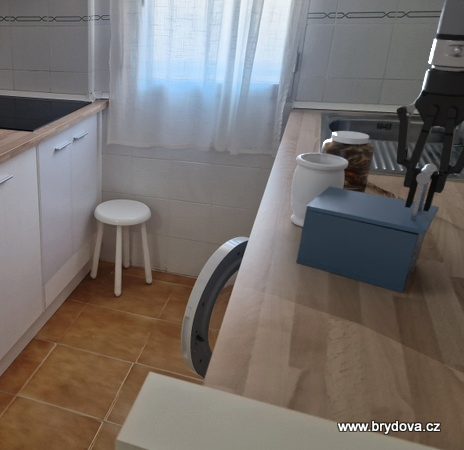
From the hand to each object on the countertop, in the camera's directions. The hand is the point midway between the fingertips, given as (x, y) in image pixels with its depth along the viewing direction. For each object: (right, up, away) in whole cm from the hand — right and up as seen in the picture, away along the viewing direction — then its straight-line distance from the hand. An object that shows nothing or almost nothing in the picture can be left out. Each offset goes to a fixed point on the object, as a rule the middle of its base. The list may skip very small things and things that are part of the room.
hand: (417, 206), depth 95 cm
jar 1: (-6, -3, +28) cm, 29 cm away
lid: (-5, 0, +5) cm, 7 cm away
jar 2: (+10, +6, +48) cm, 49 cm away
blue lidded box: (-6, -11, +10) cm, 15 cm away
